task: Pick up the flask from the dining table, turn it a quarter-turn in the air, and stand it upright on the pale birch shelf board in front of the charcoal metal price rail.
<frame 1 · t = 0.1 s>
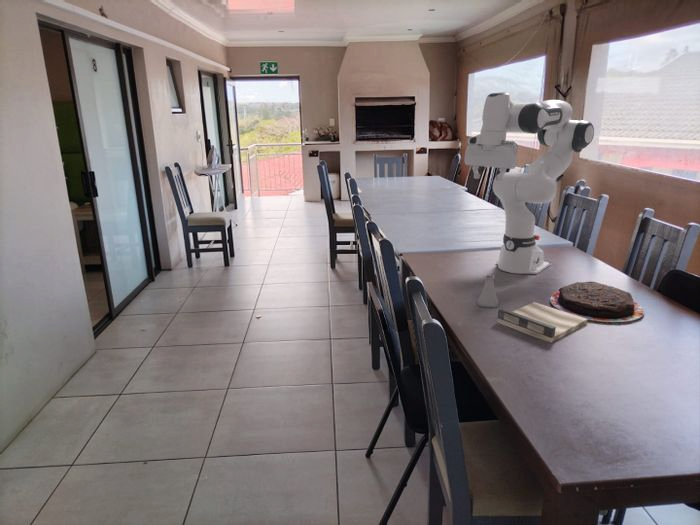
hand: (487, 179, 172), 39 cm above the table, tool pointing down, fingers open, 8 cm apart
chocolate cake: (594, 308, 158), on the table
flask: (487, 304, 162), on the table
shelf board: (541, 323, 147), on the table
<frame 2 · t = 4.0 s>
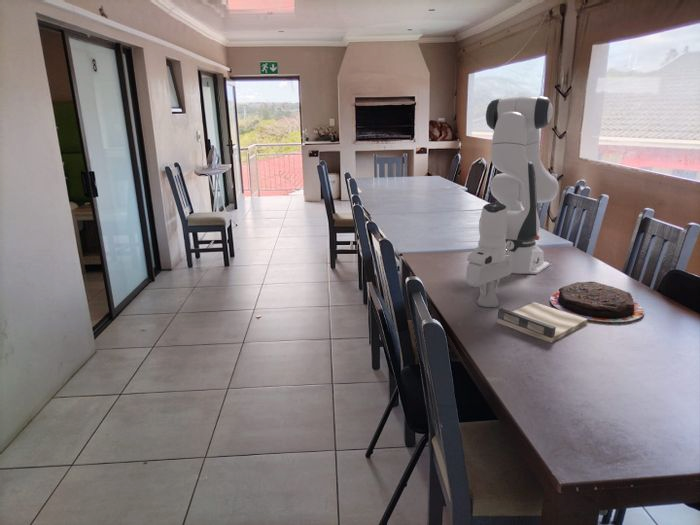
hand: (488, 292, 161), 4 cm above the table, tool pointing down, fingers closed on flask, 3 cm apart
flask: (487, 304, 162), on the table, touching gripper
everything else where it was.
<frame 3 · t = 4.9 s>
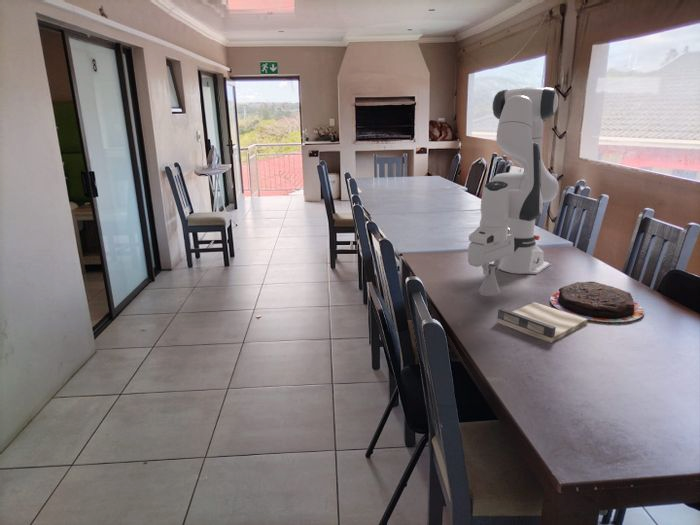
hand: (490, 272, 159), 11 cm above the table, tool pointing down, fingers closed on flask, 3 cm apart
flask: (489, 293, 162), point 4 cm above the table, touching gripper
everything else where it was.
when the fingers open (9 cm above the table, at t = 8.4 s): flask stays where it is, resting on shelf board.
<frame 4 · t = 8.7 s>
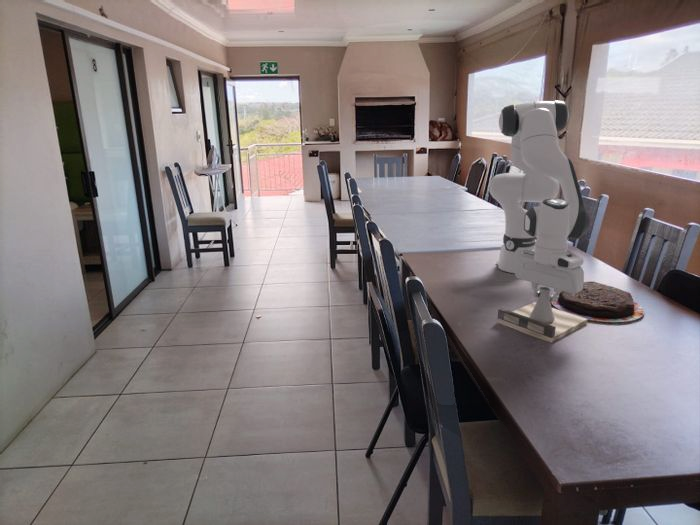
hand: (545, 299, 144), 8 cm above the table, tool pointing down, fingers open, 4 cm apart
flask: (541, 319, 146), point 1 cm above the table, touching gripper, shelf board
everything else where it was.
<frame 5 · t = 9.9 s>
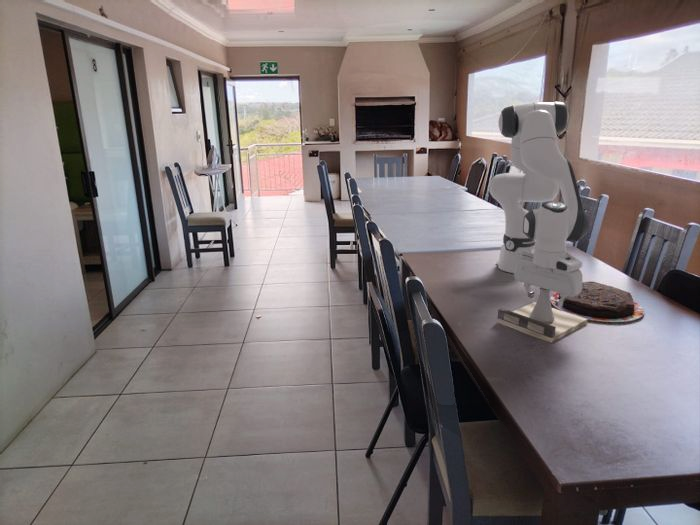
hand: (544, 301, 145), 7 cm above the table, tool pointing down, fingers open, 8 cm apart
flask: (541, 319, 146), point 1 cm above the table, touching shelf board
everything else where it was.
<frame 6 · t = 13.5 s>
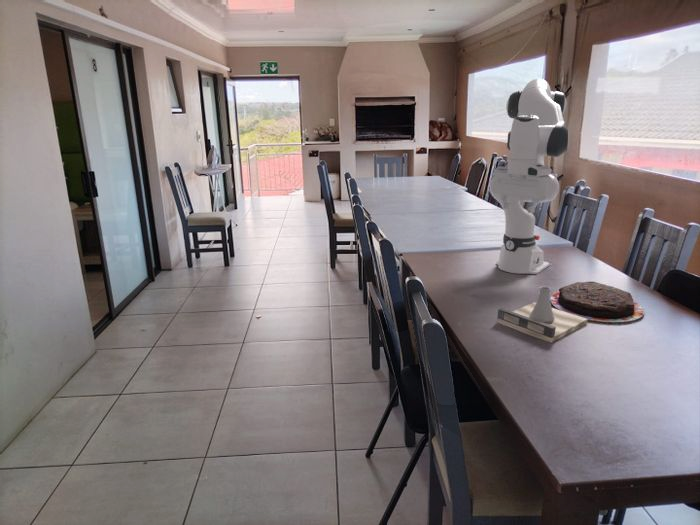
hand: (518, 210, 157), 31 cm above the table, tool pointing down, fingers open, 8 cm apart
nothing on the table moved.
at the end: flask inside the target area on the shelf board (0.1 cm from its centre), point 1.3 cm above the shelf board's base; flask tilted 0°; the gripper is holding nothing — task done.
